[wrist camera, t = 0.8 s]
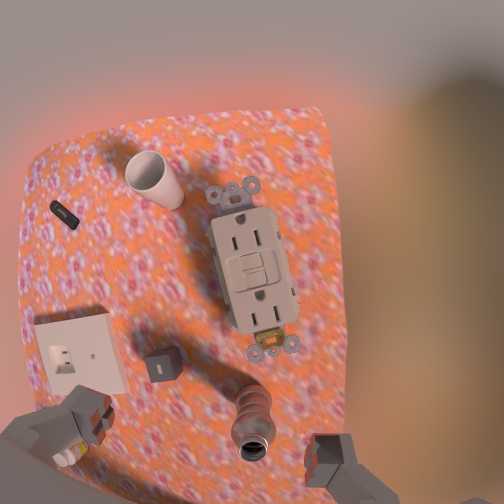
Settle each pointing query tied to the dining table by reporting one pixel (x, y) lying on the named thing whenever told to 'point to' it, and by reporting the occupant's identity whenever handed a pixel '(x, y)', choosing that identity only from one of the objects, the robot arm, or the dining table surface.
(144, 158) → the drinking glass
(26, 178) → the dining table surface
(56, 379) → the outlet plate
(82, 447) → the supplement bottle
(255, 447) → the plastic bottle
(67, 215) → the usb stick
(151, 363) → the block
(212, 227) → the electrical outlet
